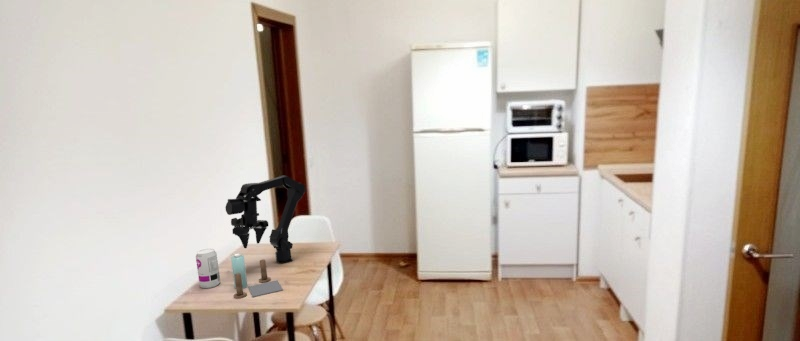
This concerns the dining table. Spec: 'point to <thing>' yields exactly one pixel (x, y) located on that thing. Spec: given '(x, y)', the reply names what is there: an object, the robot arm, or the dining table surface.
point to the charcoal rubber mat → (265, 288)
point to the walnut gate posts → (239, 281)
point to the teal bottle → (239, 268)
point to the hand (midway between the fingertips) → (251, 245)
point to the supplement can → (207, 268)
